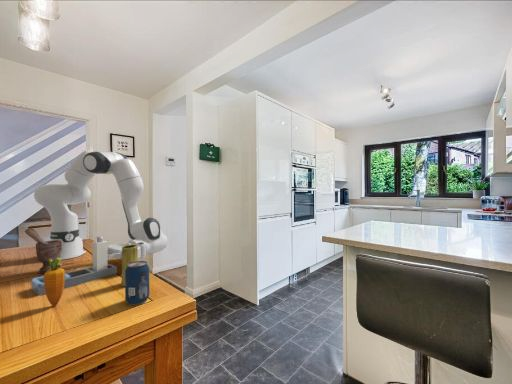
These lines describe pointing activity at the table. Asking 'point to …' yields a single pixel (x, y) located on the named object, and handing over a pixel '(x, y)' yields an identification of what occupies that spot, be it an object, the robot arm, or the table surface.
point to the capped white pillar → (100, 254)
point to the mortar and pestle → (45, 250)
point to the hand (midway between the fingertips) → (103, 255)
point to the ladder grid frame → (75, 278)
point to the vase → (128, 258)
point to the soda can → (137, 282)
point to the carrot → (54, 282)
